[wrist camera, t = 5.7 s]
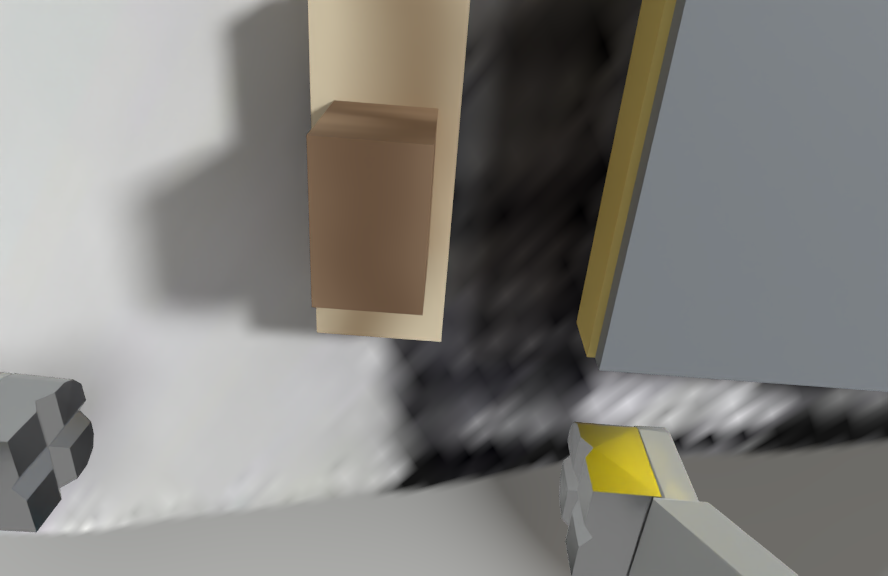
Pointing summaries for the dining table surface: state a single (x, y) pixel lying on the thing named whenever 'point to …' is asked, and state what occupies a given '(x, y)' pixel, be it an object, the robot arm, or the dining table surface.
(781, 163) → the dock
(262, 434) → the dining table surface
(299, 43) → the dining table surface
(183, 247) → the dining table surface
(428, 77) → the tan stepped block
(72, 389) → the robot arm
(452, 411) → the dining table surface
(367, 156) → the brown box
